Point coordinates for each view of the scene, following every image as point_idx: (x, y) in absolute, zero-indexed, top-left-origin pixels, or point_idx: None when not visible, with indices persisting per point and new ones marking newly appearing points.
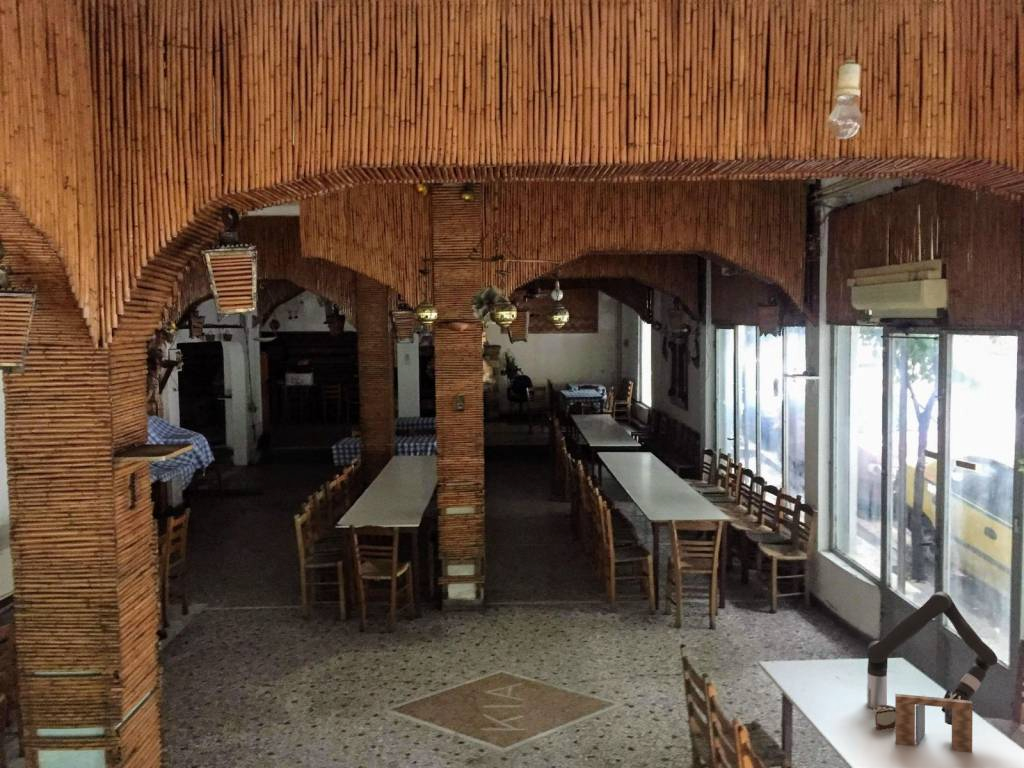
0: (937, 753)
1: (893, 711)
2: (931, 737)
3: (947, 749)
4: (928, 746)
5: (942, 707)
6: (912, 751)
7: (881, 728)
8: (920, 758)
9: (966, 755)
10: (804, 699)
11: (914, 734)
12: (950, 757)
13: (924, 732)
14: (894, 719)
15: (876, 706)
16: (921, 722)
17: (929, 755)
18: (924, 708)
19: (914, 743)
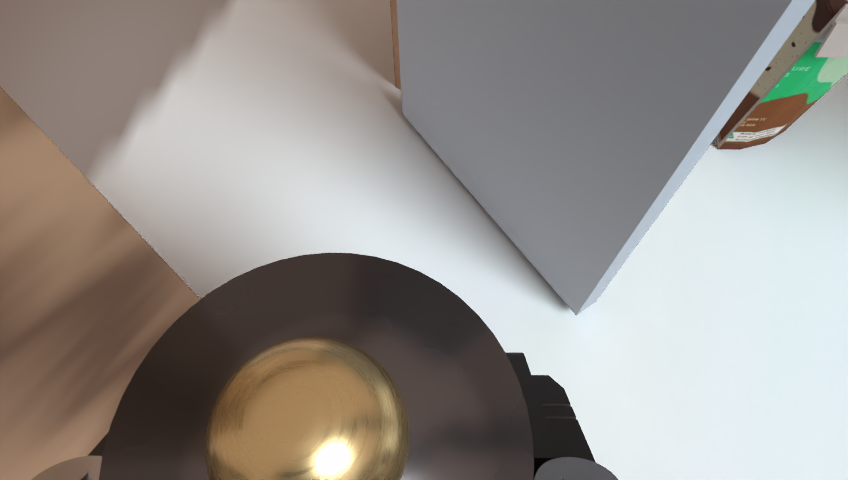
0: (225, 149)
1: (815, 4)
2: (475, 312)
3: (228, 270)
4: (347, 168)
5: (562, 400)
6: (339, 28)
7: None
8: (239, 12)
9: None
10: None
11: (392, 2)
12: (121, 190)
13: (563, 298)
14: (764, 86)
15: None
16: (490, 88)
17: (236, 82)
18: (656, 121)
19: (396, 68)
